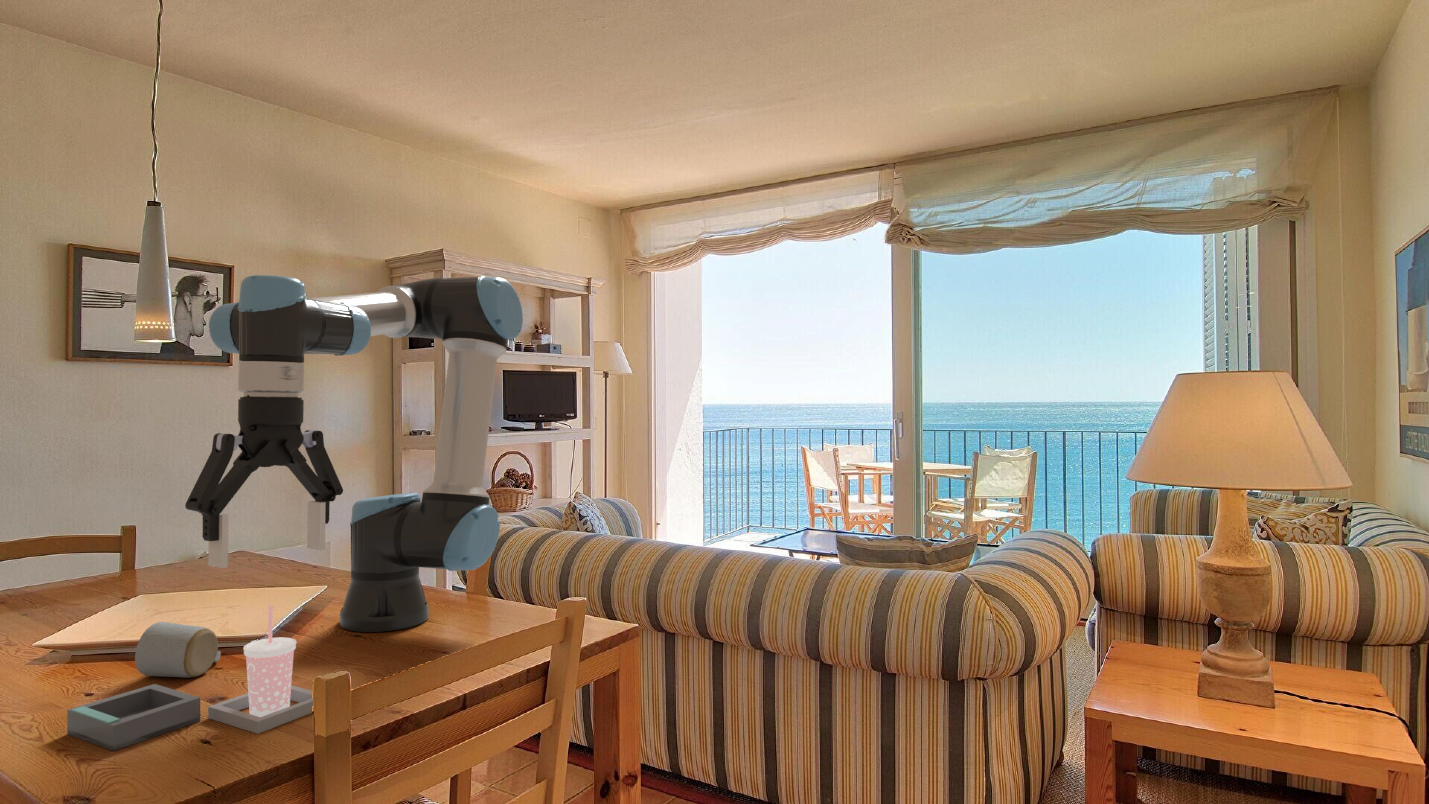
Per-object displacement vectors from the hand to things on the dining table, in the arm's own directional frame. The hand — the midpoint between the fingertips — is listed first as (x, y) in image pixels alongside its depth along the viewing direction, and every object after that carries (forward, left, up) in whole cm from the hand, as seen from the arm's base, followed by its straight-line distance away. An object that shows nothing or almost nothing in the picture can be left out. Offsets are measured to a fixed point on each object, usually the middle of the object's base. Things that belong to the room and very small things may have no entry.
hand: (269, 557), depth 106 cm
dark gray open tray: (+11, -10, -20) cm, 25 cm away
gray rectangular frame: (0, 0, -20) cm, 20 cm away
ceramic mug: (-4, -25, -21) cm, 33 cm away
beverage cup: (0, 0, -21) cm, 21 cm away
